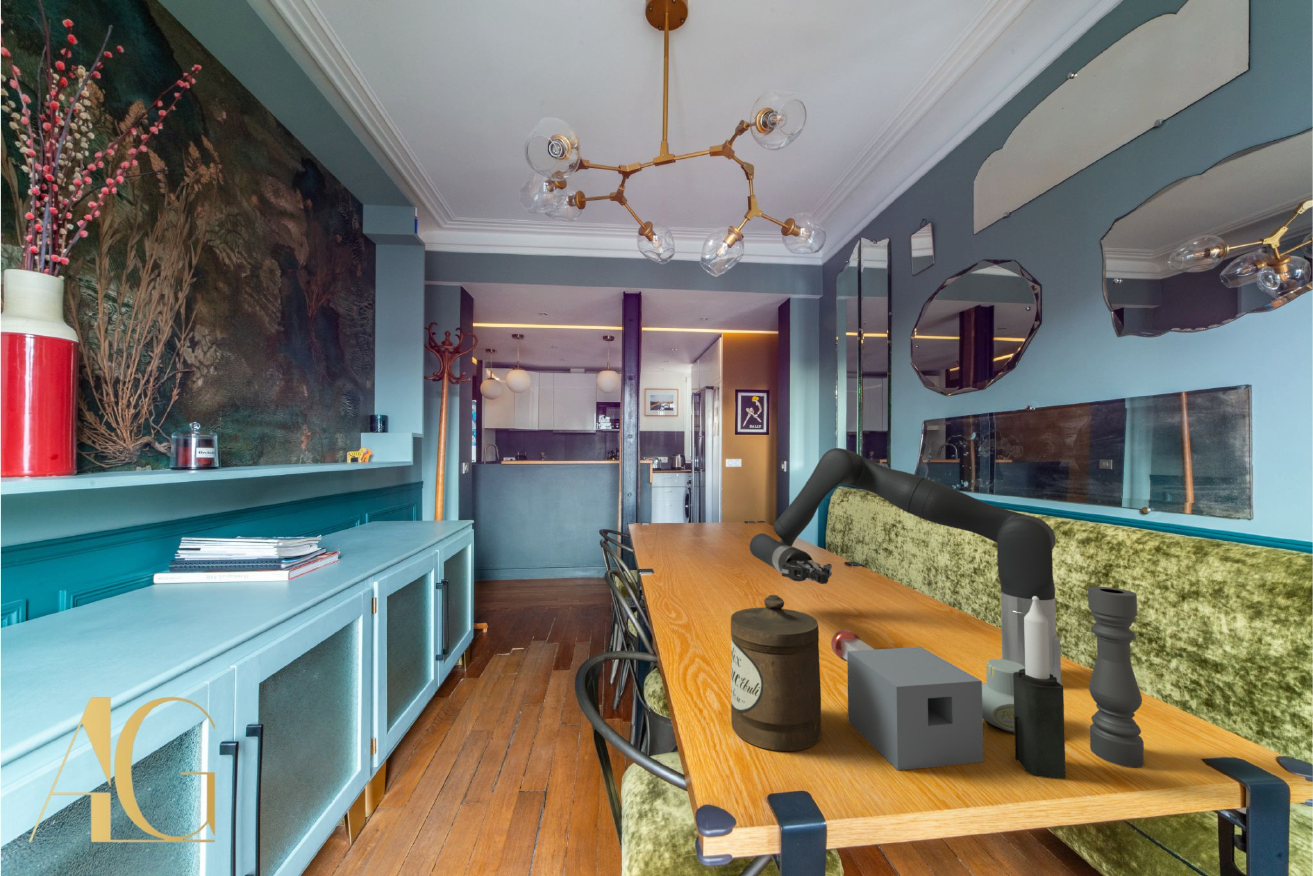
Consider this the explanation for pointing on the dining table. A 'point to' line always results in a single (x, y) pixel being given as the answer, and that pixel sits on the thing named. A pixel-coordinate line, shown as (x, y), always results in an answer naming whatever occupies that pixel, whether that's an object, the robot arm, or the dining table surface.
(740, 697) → the wooden container
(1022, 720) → the candle
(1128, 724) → the candle holder
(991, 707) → the air freshener
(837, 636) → the plunger
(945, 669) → the housing
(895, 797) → the dining table surface
